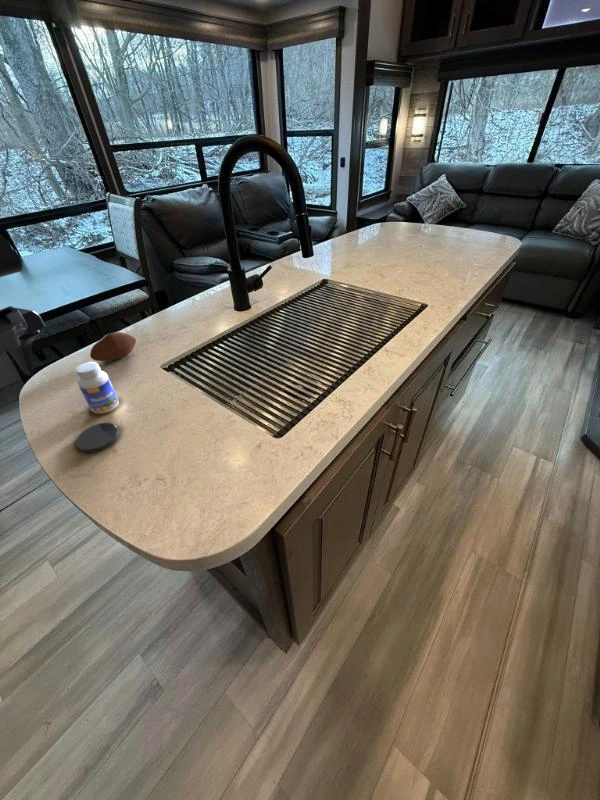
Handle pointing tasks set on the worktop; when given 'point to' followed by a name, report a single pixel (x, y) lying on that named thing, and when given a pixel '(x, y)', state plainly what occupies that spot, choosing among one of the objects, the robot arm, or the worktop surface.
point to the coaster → (97, 437)
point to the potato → (113, 346)
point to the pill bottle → (96, 388)
